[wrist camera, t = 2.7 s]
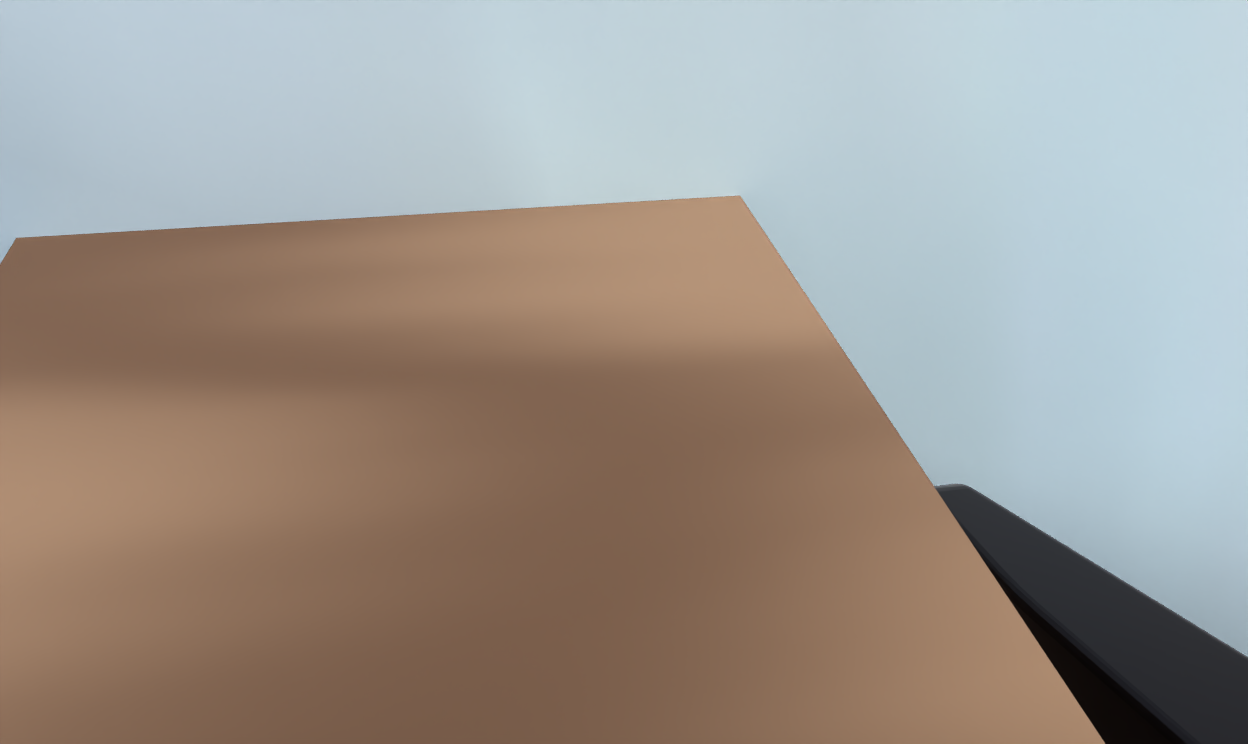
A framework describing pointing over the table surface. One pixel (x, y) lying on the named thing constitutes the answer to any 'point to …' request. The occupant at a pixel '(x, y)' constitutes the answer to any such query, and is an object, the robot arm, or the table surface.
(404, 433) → the walnut block
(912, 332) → the table surface
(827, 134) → the table surface
